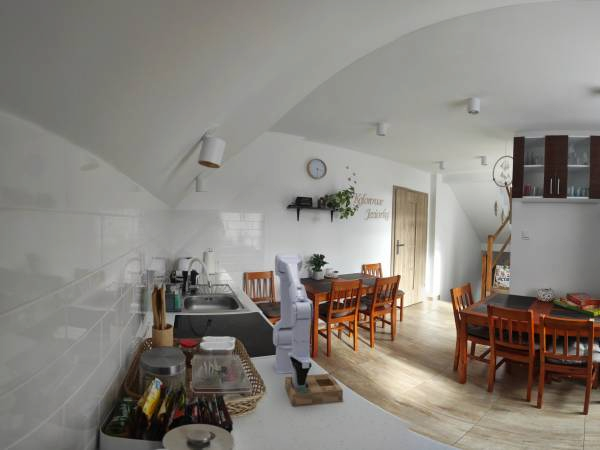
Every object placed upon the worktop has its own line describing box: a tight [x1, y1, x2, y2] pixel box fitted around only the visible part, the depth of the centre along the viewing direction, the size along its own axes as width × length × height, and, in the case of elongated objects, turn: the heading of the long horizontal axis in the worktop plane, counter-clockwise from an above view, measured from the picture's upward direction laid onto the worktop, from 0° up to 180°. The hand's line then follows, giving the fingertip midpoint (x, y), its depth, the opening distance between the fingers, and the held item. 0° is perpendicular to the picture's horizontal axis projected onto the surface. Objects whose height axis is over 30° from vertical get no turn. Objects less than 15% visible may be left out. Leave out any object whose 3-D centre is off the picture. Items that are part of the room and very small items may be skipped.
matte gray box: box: [291, 367, 306, 389], centre depth 104 cm, size 4×4×7 cm
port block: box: [284, 373, 344, 407], centre depth 105 cm, size 12×16×4 cm
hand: (299, 381), depth 104 cm, fingers closed on matte gray box, 4 cm apart
